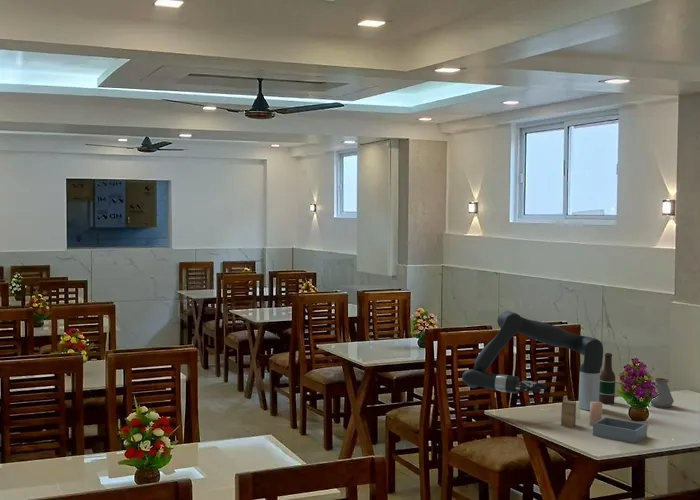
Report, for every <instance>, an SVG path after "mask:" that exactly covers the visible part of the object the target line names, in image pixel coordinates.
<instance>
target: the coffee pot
mask: <svg viewBox="0 0 700 500" xmlns="http://www.w3.org/2000/svg"><path fill="white" fill-rule="evenodd" d="M654 381H655V383H654V384H655V385H656V388H657V391H658V393H659V395H658V397H657V398H655V399H653V400H652V401H651V403H650V404H651V406H653V407H656V408H662V409H663V408H664V409H666V408H670V406H672V405H673V404H674V399H673V396H672V393H671V391H670V388H669V385H668V383H669V381H670V380H669V379H667V378H662V377H655V378H654Z"/></svg>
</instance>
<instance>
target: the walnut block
mask: <svg viewBox="0 0 700 500" xmlns="http://www.w3.org/2000/svg"><path fill="white" fill-rule="evenodd" d="M576 414H577V401H574V400H573V401H572V400H567V399H565V400H563V401H562V402H561V419H560V420H561V421H560V425H561V426H563V427H569V428H574V427H575V426H574V425H576V420H577V419H576V416H577V415H576ZM573 426H574V427H573Z"/></svg>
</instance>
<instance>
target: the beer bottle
mask: <svg viewBox="0 0 700 500" xmlns="http://www.w3.org/2000/svg"><path fill="white" fill-rule="evenodd" d="M603 357H604V362H603V370H601V371H600V390H599V401H600V402H602V404H603V403H604V405H614V404H615V396H616V394H615V393H616V375H615V373H614V370H613V367H612V366H613V365H612V364H613V363H612V361H613V359H612V357H613V353H611V352H605V353H604V354H603Z"/></svg>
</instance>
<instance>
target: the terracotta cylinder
mask: <svg viewBox="0 0 700 500" xmlns="http://www.w3.org/2000/svg"><path fill="white" fill-rule="evenodd" d="M602 418H603V403H602V402H600V401H590V410H589V425H590V426H591V427H593V423H595V422H596V421H598V420H600V419H602Z"/></svg>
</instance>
